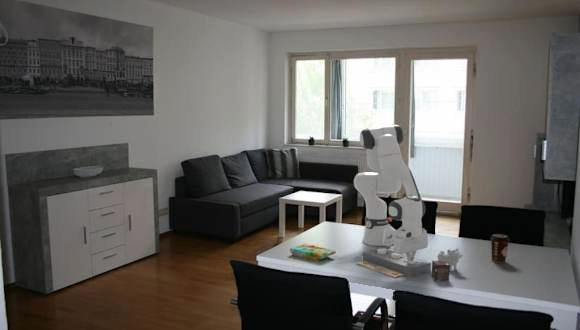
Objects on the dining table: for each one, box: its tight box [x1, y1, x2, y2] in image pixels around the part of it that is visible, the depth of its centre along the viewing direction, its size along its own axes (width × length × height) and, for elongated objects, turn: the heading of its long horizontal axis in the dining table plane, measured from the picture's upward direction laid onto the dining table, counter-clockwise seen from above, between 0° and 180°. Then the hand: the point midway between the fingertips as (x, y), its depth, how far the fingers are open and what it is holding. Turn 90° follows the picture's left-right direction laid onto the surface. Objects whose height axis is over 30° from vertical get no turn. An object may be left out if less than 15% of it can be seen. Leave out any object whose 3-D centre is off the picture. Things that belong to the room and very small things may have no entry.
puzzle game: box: [289, 243, 336, 262], centre depth 257 cm, size 12×5×20 cm
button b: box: [391, 253, 401, 259], centre depth 244 cm, size 4×4×3 cm
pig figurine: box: [437, 248, 463, 272], centre depth 239 cm, size 5×13×11 cm, turn 32°
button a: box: [376, 247, 387, 255], centre depth 251 cm, size 4×4×3 cm
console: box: [362, 247, 432, 278], centre depth 244 cm, size 14×30×4 cm, turn 37°
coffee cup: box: [490, 233, 511, 264], centre depth 252 cm, size 9×8×13 cm
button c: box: [406, 259, 416, 264], centre depth 237 cm, size 4×4×3 cm
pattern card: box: [356, 260, 405, 279], centre depth 237 cm, size 6×24×1 cm, turn 37°
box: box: [431, 260, 451, 282], centre depth 226 cm, size 6×6×7 cm
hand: (410, 260), depth 236 cm, fingers closed, pressing on button c
